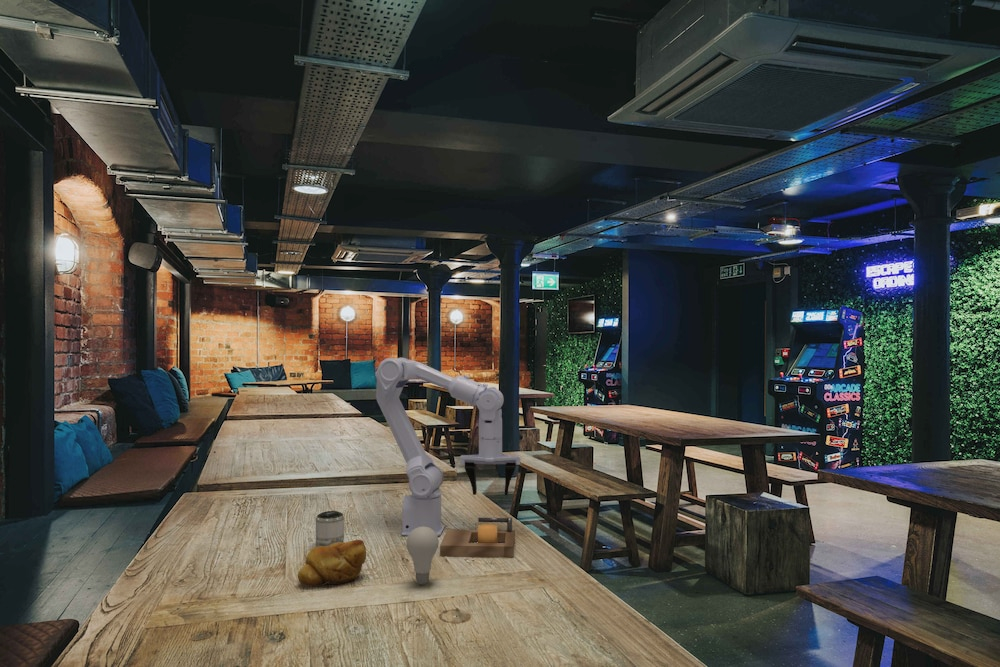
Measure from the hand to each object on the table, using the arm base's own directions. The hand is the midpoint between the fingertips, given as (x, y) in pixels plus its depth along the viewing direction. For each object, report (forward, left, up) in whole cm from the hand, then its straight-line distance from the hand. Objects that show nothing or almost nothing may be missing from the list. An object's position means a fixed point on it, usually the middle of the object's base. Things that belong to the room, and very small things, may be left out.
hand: (490, 494), depth 150 cm
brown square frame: (-2, -10, -10) cm, 14 cm away
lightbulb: (-11, -32, -10) cm, 35 cm away
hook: (+1, -5, -10) cm, 11 cm away
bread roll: (-30, -30, -10) cm, 43 cm away
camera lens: (-36, -11, -10) cm, 39 cm away
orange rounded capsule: (0, -10, -10) cm, 14 cm away
